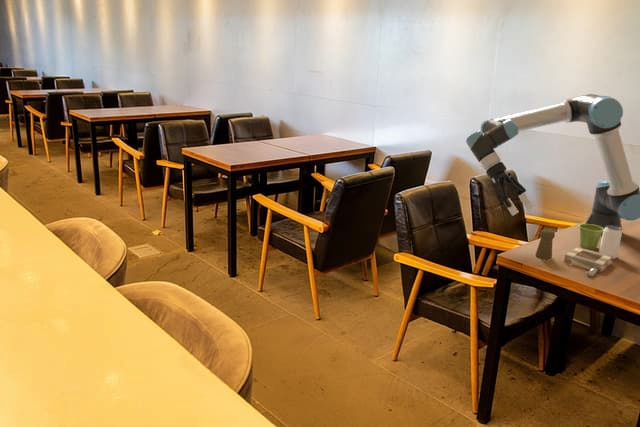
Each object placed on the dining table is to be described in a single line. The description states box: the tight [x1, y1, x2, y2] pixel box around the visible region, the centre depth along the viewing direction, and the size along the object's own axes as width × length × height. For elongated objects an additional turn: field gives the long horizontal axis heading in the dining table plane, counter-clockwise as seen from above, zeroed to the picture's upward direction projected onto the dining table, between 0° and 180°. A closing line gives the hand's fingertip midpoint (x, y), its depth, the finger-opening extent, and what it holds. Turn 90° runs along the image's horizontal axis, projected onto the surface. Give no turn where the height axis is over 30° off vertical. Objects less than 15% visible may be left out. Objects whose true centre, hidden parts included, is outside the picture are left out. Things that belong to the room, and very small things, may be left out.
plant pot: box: [578, 223, 604, 251], centre depth 220 cm, size 9×9×9 cm
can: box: [598, 225, 623, 260], centre depth 210 cm, size 6×6×12 cm
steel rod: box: [586, 266, 599, 278], centre depth 194 cm, size 10×2×2 cm, turn 136°
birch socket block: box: [563, 246, 613, 273], centre depth 204 cm, size 13×13×3 cm
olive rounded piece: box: [534, 228, 556, 261], centre depth 207 cm, size 6×6×11 cm
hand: (523, 210), depth 211 cm, fingers open, 13 cm apart
